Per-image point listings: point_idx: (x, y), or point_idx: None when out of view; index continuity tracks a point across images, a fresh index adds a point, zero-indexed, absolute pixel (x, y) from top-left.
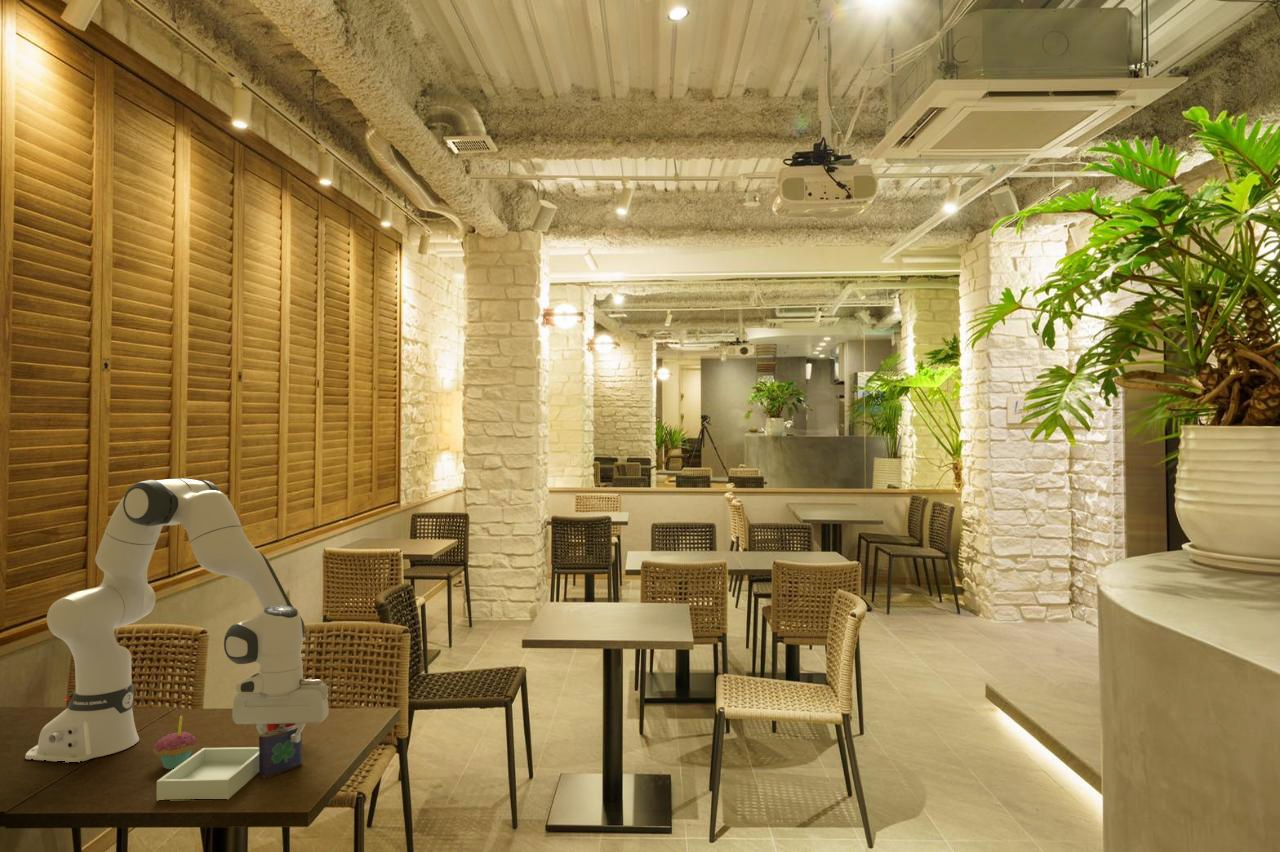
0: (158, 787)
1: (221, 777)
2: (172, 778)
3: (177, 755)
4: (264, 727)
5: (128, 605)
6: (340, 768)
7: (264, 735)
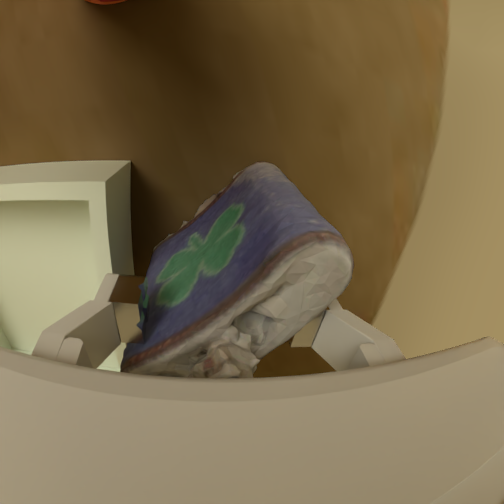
0: None
1: (56, 294)
2: None
3: None
4: (80, 336)
5: None
6: (403, 230)
7: None
